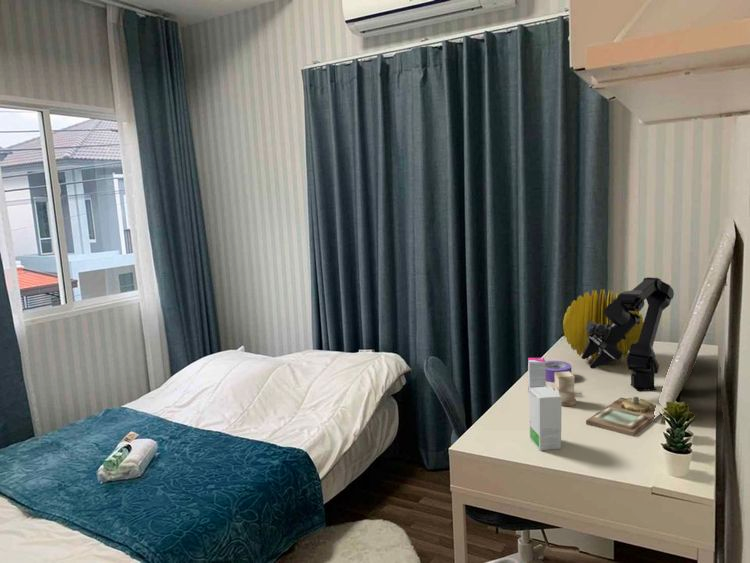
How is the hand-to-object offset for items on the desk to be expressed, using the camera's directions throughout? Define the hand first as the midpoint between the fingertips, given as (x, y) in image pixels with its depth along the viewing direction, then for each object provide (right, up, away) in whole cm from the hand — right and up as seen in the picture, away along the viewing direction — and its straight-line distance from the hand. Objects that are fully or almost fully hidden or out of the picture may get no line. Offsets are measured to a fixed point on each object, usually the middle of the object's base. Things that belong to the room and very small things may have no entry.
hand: (586, 363), depth 186 cm
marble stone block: (-7, -13, +1) cm, 15 cm away
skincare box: (-22, -19, -27) cm, 40 cm away
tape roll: (-2, -10, +27) cm, 29 cm away
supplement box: (-12, -12, +15) cm, 23 cm away
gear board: (+7, -15, -14) cm, 21 cm away
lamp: (+22, -6, +41) cm, 46 cm away
